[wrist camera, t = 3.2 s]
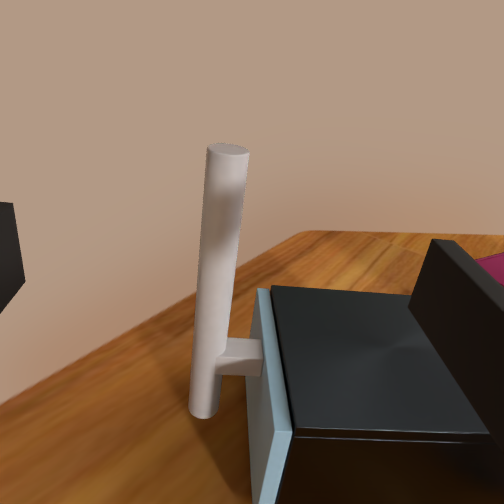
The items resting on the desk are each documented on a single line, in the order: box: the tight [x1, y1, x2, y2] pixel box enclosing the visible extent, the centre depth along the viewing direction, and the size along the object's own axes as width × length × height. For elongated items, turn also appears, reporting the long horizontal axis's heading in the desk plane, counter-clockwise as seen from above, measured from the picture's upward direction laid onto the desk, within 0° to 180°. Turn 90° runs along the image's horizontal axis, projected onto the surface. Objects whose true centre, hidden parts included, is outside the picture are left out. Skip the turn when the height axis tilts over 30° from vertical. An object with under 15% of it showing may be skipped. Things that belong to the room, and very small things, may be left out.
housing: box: [270, 285, 504, 504], centre depth 31 cm, size 16×14×10 cm
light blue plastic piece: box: [188, 143, 293, 504], centre depth 27 cm, size 20×14×22 cm
